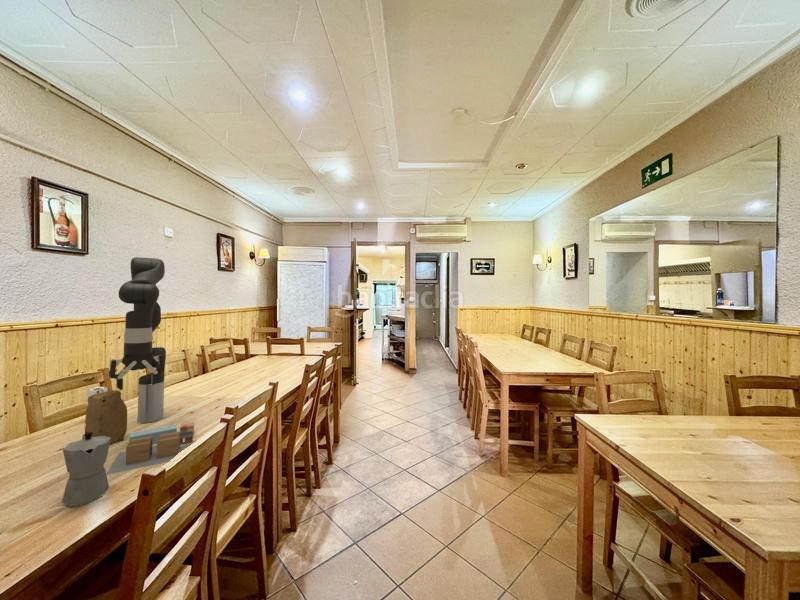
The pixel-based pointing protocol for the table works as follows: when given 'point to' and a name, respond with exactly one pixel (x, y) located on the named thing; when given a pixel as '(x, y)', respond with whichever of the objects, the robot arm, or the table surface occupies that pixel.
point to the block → (106, 415)
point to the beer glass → (95, 392)
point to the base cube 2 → (168, 445)
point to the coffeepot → (86, 470)
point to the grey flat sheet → (121, 465)
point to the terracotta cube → (188, 426)
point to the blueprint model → (186, 436)
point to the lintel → (153, 432)
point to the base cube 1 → (139, 450)
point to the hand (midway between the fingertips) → (137, 386)
